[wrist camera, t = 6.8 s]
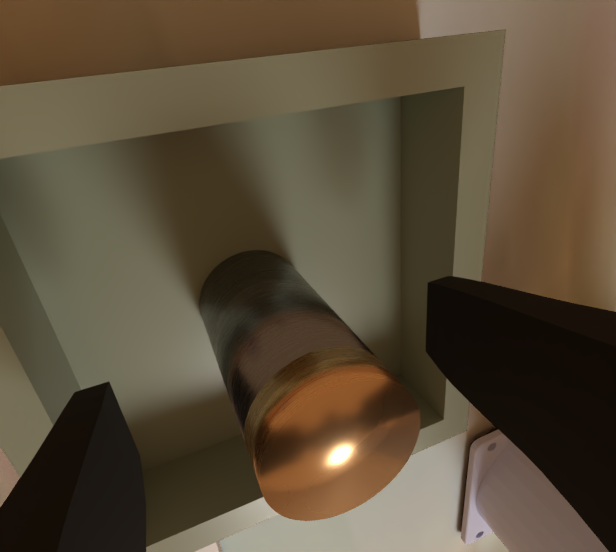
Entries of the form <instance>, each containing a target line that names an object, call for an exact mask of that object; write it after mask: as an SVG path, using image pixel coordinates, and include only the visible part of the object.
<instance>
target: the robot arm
mask: <svg viewBox="0 0 616 552" xmlns="http://www.w3.org/2000/svg"><path fill="white" fill-rule="evenodd" d="M426 353H427V354H428V355H429V356H430V358H431V359H432V360H433V362H434V363H435V364H436V366H437V367H438V368H439V370H440V371H441V372H442V373H443V374H444V376H445V377H446V378H447V379H448V380H449V382H450V383H451V384H452V385H453V386H454V387H455V388H456V389H457V390H458V391H459V392H460V393H461V394H462V395H463V396H464V397H465V398H466V399H467V400H468V401H469V402H470V403H471V404H472V405H473V406H474V407H475V408H477V409H478V410H479V411H480V412H481V413H482V414H483V415H484V416H485V417H486V418H487V419H488V420H489V421H490V422H491V423H492V424H493V425H494V426H495V427H496V428H498V430H496V431H493V432H491V433H489V434H487V435H485V436H482V437H480V438H478V439H477V440H475V441H474V442H473V443H472V445H471V447H470V455H469V464H468V474H467V483H466V493H465V502H464V512H463V521H462V531H461V539H462V540H463V542H464V543H465V544H467V545H468V544H472V543H474V542H475V541H477V540H479V539H481V538H483V537H485V536H487V535H488V534H490V533H492V532H494V533H495V534H496V536H497V537H498V538H499V539H500V540H501V542H502V543H503V544H504V545H505V546H506V548H507V549H508V550H509V551H510V552H616V312H613V311H608V310H603V309H598V308H593V307H588V306H583V305H578V304H574V303H569V302H565V301H560V300H556V299H551V298H547V297H543V296H539V295H534V294H530V293H526V292H522V291H518V290H514V289H510V288H506V287H502V286H497V285H493V284H489V283H485V282H480V281H476V280H471V279H466V278H461V277H454V276H446V277H443V278H440V279H437V280H434V281H430V282H428V286H427V318H426ZM0 552H146V500H145V491H144V482H143V474H142V466H141V458H140V454H139V452H138V449H137V447H136V444H135V442H134V440H133V437H132V435H131V432H130V430H129V428H128V425H127V423H126V420H125V418H124V416H123V413H122V411H121V408H120V406H119V404H118V401H117V399H116V396H115V394H114V392H113V389H112V387H111V384H110V382H105V383H102V384H99V385H96V386H92V387H89V388H86V389H83V390H80V391H76V392H74V394H73V395H72V397H71V398H70V400H69V402H68V403H67V405H66V406H65V408H64V409H63V411H62V412H61V414H60V416H59V417H58V419H57V421H56V422H55V424H54V425H53V427H52V429H51V430H50V432H49V434H48V435H47V437H46V438H45V440H44V442H43V443H42V445H41V446H40V448H39V450H38V451H37V453H36V454H35V456H34V457H33V459H32V461H31V462H30V464H29V465H28V467H27V468H26V470H25V471H24V473H23V474H22V476H21V477H20V479H19V480H18V482H17V484H16V485H15V487H14V488H13V490H12V491H11V493H10V494H9V496H8V497H7V499H6V500H5V502H4V503H3V505H2V506H1V507H0Z"/></svg>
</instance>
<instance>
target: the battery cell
mask: <svg viewBox="0 0 616 552" xmlns="http://www.w3.org/2000/svg"><path fill="white" fill-rule="evenodd" d="M199 306H200V313H201V317H202V319H203V322H204V325H205V328H206V331H207V334H208V337H209V340H210V343H211V346H212V349H213V352H214V355H215V357H216V360H217V363H218V366H219V369H220V372H221V375H222V378H223V381H224V384H225V387H226V390H227V393H228V396H229V398H230V401H231V404H232V407H233V410H234V413H235V416H236V419H237V422H238V425H239V428H240V431H241V434H242V436H243V439H244V442H245V445H246V448H247V451H248V454H249V457H250V460H251V463H252V466H253V469H254V472H255V474H256V477H257V480H258V483H259V486H260V489H261V492H262V495H263V497H264V499H265V501H266V502H267V504H268V505H269V507H271V508H272V509H273V510H274V511H275V512H277V513H278V514H280V515H282V516H284V517H287V518H290V519H295V520H303V521H310V520H320V519H326V518H330V517H333V516H337V515H339V514H342V513H345V512H347V511H349V510H351V509H354V508H355V507H357V506H359V505H361V504H363V503H364V502H366V501H367V500H369V499H370V498H372V497H373V496H375V495H376V494H377V493H378V492H380V491H381V490H382V489H383V488H384V487H385V486H387V485H388V484H389V483H390V482H391V481H392V480H393V479H394V478H395V477H396V475H397V474H398V473H399V472H400V470H401V469H402V468H403V466H404V465H405V464H406V462H407V461H408V459H409V457H410V455H411V454H412V452H413V450H414V447H415V445H416V442H417V439H418V436H419V431H420V421H421V419H420V411H419V408H418V404H417V402H416V401H415V399H414V397H413V396H412V395H411V394H410V392H409V391H408V390H407V389H406V388H405V387H404V386H403V385H402V384H401V383H400V382H399V380H398V379H397V378H396V377H395V376H394V375H393V374H392V373H391V372H390V371H389V370H388V369H387V368H386V366H385V365H384V364H383V363H382V362H381V361H380V360H379V359H378V358H377V357H376V356H375V355H374V353H373V352H372V351H371V350H370V349H369V348H368V347H367V346H366V345H365V344H364V343H363V342H362V341H361V339H360V338H359V337H358V336H357V335H356V334H355V333H354V332H353V331H352V330H351V329H350V328H349V326H348V325H347V324H346V323H345V322H344V321H343V320H342V319H341V318H340V317H339V316H338V315H337V314H336V312H335V311H334V310H333V309H332V308H331V307H330V306H329V305H328V304H327V303H326V302H325V301H324V299H323V298H322V297H321V296H320V295H319V294H318V293H317V292H316V291H315V290H314V289H313V288H312V287H311V285H310V284H309V283H308V282H307V281H306V280H305V279H304V278H303V277H302V276H301V275H300V274H299V272H298V271H297V270H296V269H295V268H294V267H293V266H292V265H291V264H290V263H289V262H288V261H287V260H286V259H284V258H283V257H281V256H280V255H277V254H275V253H272V252H269V251H263V250H250V251H245V252H240V253H238V254H235V255H233V256H231V257H229V258H227V259H225V260H224V261H222V262H221V263H220V264H219V265H218V266H216V267H215V268H214V269H213V271H212V272H211V273H210V274H209V276H208V277H207V279H206V281H205V282H204V284H203V287H202V290H201V294H200V301H199Z"/></svg>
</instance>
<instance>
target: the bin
mask: <svg viewBox="0 0 616 552" xmlns="http://www.w3.org/2000/svg"><path fill="white" fill-rule="evenodd" d="M505 32H506V30H497V31H488V32H479V33H470V34H461V35H452V36H443V37H434V38H425V39H416V40H408V41H399V42H390V43H381V44H372V45H363V46H354V47H345V48H336V49H327V50H318V51H309V52H300V53H291V54H282V55H273V56H265V57H256V58H247V59H238V60H229V61H220V62H211V63H202V64H193V65H184V66H175V67H166V68H157V69H148V70H139V71H130V72H121V73H113V74H104V75H95V76H86V77H77V78H68V79H59V80H50V81H41V82H32V83H23V84H14V85H5V86H0V447H1V448H2V450H3V451H4V453H5V454H6V456H7V458H8V459H9V461H10V462H11V464H12V466H13V467H14V469H15V470H16V472H17V474H18V475H19V477H21V476H22V474H23V473H24V471H25V470H26V468H27V467H28V465H29V464H30V462H31V461H32V459H33V457H34V456H35V454H36V453H37V451H38V450H39V448H40V446H41V445H42V443H43V442H44V440H45V438H46V437H47V435H48V434H49V432H50V430H51V429H52V427H53V425H54V424H55V422H56V421H57V419H58V417H59V416H60V414H61V412H62V411H63V409H64V408H65V406H66V405H67V403H68V402H69V400H70V398H71V397H72V395H73V394H74V392H76V391H80V390H83V389H86V388H89V387H92V386H96V385H99V384H102V383H105V382H110V384H111V387H112V389H113V392H114V394H115V396H116V399H117V401H118V404H119V406H120V408H121V411H122V413H123V416H124V418H125V420H126V423H127V425H128V428H129V430H130V432H131V435H132V437H133V440H134V442H135V444H136V447H137V449H138V452H139V454H140V458H141V466H142V474H143V482H144V491H145V500H146V552H195V551H197V550H199V549H202V548H204V547H206V546H208V545H211V544H213V543H215V542H217V541H220V540H222V539H224V538H226V537H229V536H231V535H233V534H235V533H238V532H240V531H242V530H244V529H247V528H249V527H251V526H253V525H256V524H258V523H260V522H262V521H265V520H267V519H269V518H271V517H274V516H276V515H278V513H277V512H275V511H274V510H273V509H272V508H271V507H269V505H268V504H267V502H266V501H265V499H264V497H263V495H262V492H261V489H260V486H259V483H258V480H257V477H256V474H255V472H254V469H253V466H252V463H251V460H250V457H249V454H248V451H247V448H246V445H245V442H244V439H243V436H242V434H241V431H240V428H239V425H238V422H237V419H236V416H235V413H234V410H233V407H232V404H231V401H230V398H229V396H228V393H227V390H226V387H225V384H224V381H223V378H222V375H221V372H220V369H219V366H218V363H217V360H216V357H215V355H214V352H213V349H212V346H211V343H210V340H209V337H208V334H207V331H206V328H205V325H204V322H203V319H202V317H201V313H200V306H199V301H200V294H201V290H202V287H203V284H204V282H205V281H206V279H207V277H208V276H209V274H210V273H211V272H212V271H213V269H214V268H215V267H216V266H218V265H219V264H220V263H221V262H222V261H224V260H225V259H227V258H229V257H231V256H233V255H235V254H238V253H240V252H245V251H250V250H263V251H269V252H272V253H275V254H277V255H280V256H281V257H283V258H284V259H286V260H287V261H288V262H289V263H290V264H291V265H292V266H293V267H294V268H295V269H296V270H297V271H298V272H299V274H300V275H301V276H302V277H303V278H304V279H305V280H306V281H307V282H308V283H309V284H310V285H311V287H312V288H313V289H314V290H315V291H316V292H317V293H318V294H319V295H320V296H321V297H322V298H323V299H324V301H325V302H326V303H327V304H328V305H329V306H330V307H331V308H332V309H333V310H334V311H335V312H336V314H337V315H338V316H339V317H340V318H341V319H342V320H343V321H344V322H345V323H346V324H347V325H348V326H349V328H350V329H351V330H352V331H353V332H354V333H355V334H356V335H357V336H358V337H359V338H360V339H361V341H362V342H363V343H364V344H365V345H366V346H367V347H368V348H369V349H370V350H371V351H372V352H373V353H374V355H375V356H376V357H377V358H378V359H379V360H380V361H381V362H382V363H383V364H384V365H385V366H386V368H387V369H388V370H389V371H390V372H391V373H392V374H393V375H394V376H395V377H396V378H397V379H398V380H399V382H400V383H401V384H402V385H403V386H404V387H405V388H406V389H407V390H408V391H409V392H410V394H411V395H412V396H413V397H414V399H415V401H416V402H417V404H418V408H419V411H420V419H421V421H420V431H419V436H418V439H417V442H416V445H415V447H414V450H413V452H412V454H411V455H413V454H415V453H417V452H419V451H422V450H424V449H426V448H428V447H431V446H433V445H435V444H437V443H440V442H442V441H444V440H446V439H449V438H451V437H453V436H455V435H458V434H460V433H462V432H464V431H467V422H468V412H469V401H468V400H467V399H466V398H465V397H464V396H463V395H462V394H461V393H460V392H459V391H458V390H457V389H456V388H455V387H454V386H453V385H452V384H451V383H450V382H449V380H448V379H447V378H446V377H445V376H444V374H443V373H442V372H441V371H440V370H439V368H438V367H437V366H436V364H435V363H434V362H433V360H432V359H431V358H430V356H429V355H428V354H427V353H426V318H427V286H428V282H430V281H434V280H437V279H440V278H443V277H446V276H454V277H461V278H466V279H471V280H476V281H480V282H481V279H482V268H483V258H484V248H485V238H486V227H487V217H488V207H489V197H490V186H491V176H492V166H493V156H494V145H495V135H496V125H497V114H498V104H499V94H500V84H501V73H502V63H503V53H504V43H505Z"/></svg>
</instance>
